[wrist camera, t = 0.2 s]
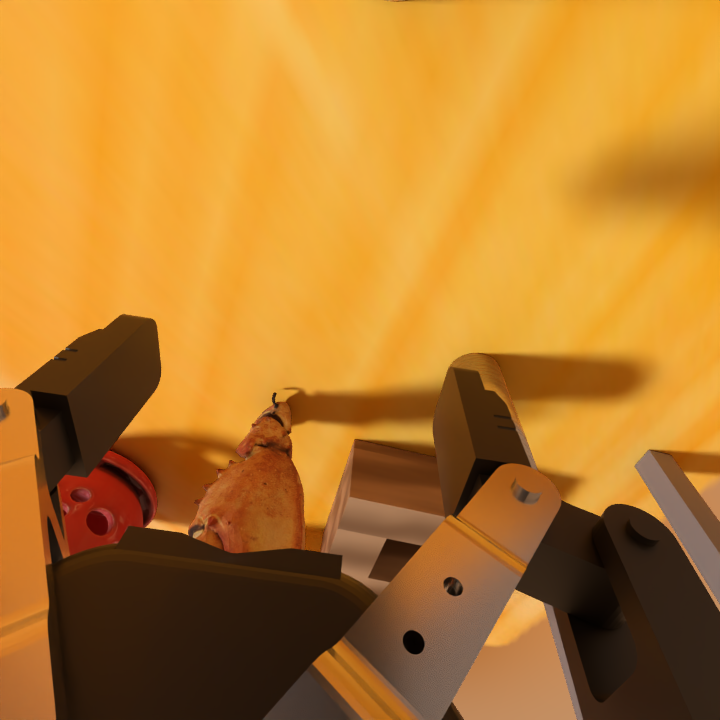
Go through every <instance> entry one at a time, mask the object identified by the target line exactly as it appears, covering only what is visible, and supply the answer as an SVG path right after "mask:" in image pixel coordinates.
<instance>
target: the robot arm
mask: <svg viewBox="0 0 720 720" xmlns="http://www.w3.org/2000/svg"><path fill="white" fill-rule="evenodd" d="M386 1H392V2H393V1H403V0H386ZM160 377H161V361H160V351H159V341H158V332H157V325H156V322H155V321H154V320H153V319H151V318H144V317H138V316H132V315H125V314H123V315H120V316H119V317H118V318H116V319H115V320H114V321H113V322H112V323H110V324H109V325H108V326H107V327H106V328H104V329H103V330H102V329H98V330H96V331H93V332H91V333H88V334H86V335H83V336H81V337H79V338H78V339H76V340H75V341H74V342H73V343H71V344H70V345H69V346H67V347H66V350H62V351H61V352H60V353H59V354H57V355H56V356H55V357H54V360H53V359H51V360H50V361H48V362H47V363H46V364H45V365H43V366H42V367H41V368H40V369H38V370H37V371H36V372H35V373H33V374H32V375H31V376H29V377H28V378H27V379H26V380H24V381H23V382H22V383H21V384H19V385H18V386H17V387H15V388H14V389H13V388H0V720H464V719H463V717H462V716H461V715H460V713H459V711H458V710H457V709H456V707H455V705H454V704H453V703H452V700H453V698H454V697H455V695H456V693H457V691H458V689H459V688H460V686H461V684H462V682H463V681H464V679H465V677H466V675H467V674H468V672H469V670H470V668H471V666H472V665H473V663H474V661H475V659H476V657H477V656H478V654H479V652H480V650H481V649H482V647H483V645H484V643H485V641H486V640H487V638H488V636H489V634H490V632H491V631H492V629H493V627H494V625H495V624H496V622H497V620H498V618H499V616H500V615H501V613H502V611H503V609H504V608H505V606H506V604H507V602H508V600H509V599H510V597H511V595H512V593H513V591H514V590H515V589H516V590H518V591H520V592H522V593H524V594H527V595H529V596H531V597H533V598H535V599H538V600H540V601H542V602H544V603H546V604H549V605H551V606H552V607H553V611H554V614H555V618H556V622H557V625H558V629H559V633H560V636H561V640H562V644H563V648H564V651H565V655H566V659H567V662H568V666H569V670H570V673H571V677H572V681H573V684H574V688H575V692H576V695H577V699H578V703H579V706H580V710H581V714H582V717H583V720H720V612H719V610H718V608H717V607H716V605H715V603H714V602H713V600H712V598H711V597H710V595H709V593H708V592H707V590H706V588H705V586H704V585H703V583H702V581H701V580H700V578H699V577H698V575H697V573H696V571H695V570H694V568H693V566H692V565H691V563H690V561H689V560H688V558H687V556H686V555H685V553H684V551H683V550H682V548H681V546H680V545H679V543H678V541H677V540H676V538H675V537H674V535H673V534H672V533H671V532H670V530H669V529H668V528H667V527H666V526H664V524H663V523H661V522H660V521H659V520H658V519H656V518H655V517H653V516H652V515H650V514H648V513H647V512H645V511H643V510H641V509H639V508H636V507H633V506H629V505H625V504H614V505H611V506H609V507H608V508H607V509H606V510H605V511H604V513H603V514H602V516H601V517H600V516H598V515H595V514H593V513H590V512H588V511H585V510H583V509H580V508H578V507H575V506H572V505H570V504H568V503H566V502H564V501H562V500H561V496H560V493H559V491H558V489H557V488H556V486H555V485H554V484H553V482H552V481H550V480H549V479H548V478H547V477H546V476H545V475H543V474H542V473H540V472H539V471H537V470H535V469H533V468H532V467H531V465H530V462H529V460H528V457H527V455H526V452H525V449H524V447H523V444H522V442H521V439H520V437H519V434H518V432H517V431H516V427H515V424H514V422H513V420H511V418H512V417H511V414H510V412H509V409H508V407H507V404H506V403H505V402H504V401H503V400H502V399H501V398H500V397H499V396H498V395H497V393H496V392H495V391H490V390H485V388H484V385H483V382H482V380H481V377H480V374H479V372H478V371H477V370H471V369H465V368H458V367H452V366H451V367H450V368H449V369H448V371H447V374H446V377H445V380H444V384H443V387H442V390H441V393H440V397H439V400H438V403H437V406H436V410H435V414H434V419H433V437H434V444H435V451H436V458H437V465H438V472H439V479H440V486H441V493H442V500H443V507H444V513H445V520H444V521H443V522H442V523H441V524H440V525H439V527H438V528H437V529H436V530H435V531H434V532H433V534H432V535H431V536H430V537H429V538H428V539H427V540H426V542H425V543H424V544H423V545H422V546H421V547H420V549H419V550H418V551H417V552H416V553H415V554H414V556H413V557H412V558H411V559H410V560H409V561H408V562H407V564H406V565H405V566H404V567H403V568H402V569H401V571H400V572H399V573H398V574H397V575H396V576H395V577H394V579H393V580H392V581H391V582H390V583H389V584H388V586H387V587H386V588H385V589H384V590H383V591H382V592H381V594H380V595H379V596H378V595H377V594H376V593H374V592H373V591H372V590H371V589H370V588H368V587H367V586H366V585H364V584H363V583H361V582H360V581H358V580H356V579H354V578H353V577H351V576H349V575H346V574H344V573H342V572H341V568H342V557H343V555H337V554H330V553H322V552H315V551H308V550H301V549H294V548H287V549H276V550H266V551H255V552H245V553H230V552H227V551H225V550H222V549H220V548H217V547H215V546H212V545H210V544H208V543H205V542H203V541H200V540H198V539H195V538H193V537H191V536H188V535H186V534H183V533H179V532H171V531H164V530H157V529H150V528H143V527H135V526H128V528H127V529H126V531H125V533H124V534H123V536H122V538H121V539H120V541H119V543H113V544H107V545H102V546H97V547H94V548H90V549H87V550H84V551H81V552H78V553H76V554H73V555H70V552H69V546H68V539H67V532H66V526H65V519H64V512H63V506H62V499H61V493H60V489H59V486H58V483H59V482H60V480H61V479H62V478H63V477H64V476H65V475H71V476H78V477H85V478H87V477H88V476H89V475H90V474H91V472H92V471H93V470H94V468H95V467H96V466H97V465H98V463H99V462H100V461H101V459H102V458H103V457H104V456H105V454H106V453H107V452H108V450H109V449H110V448H111V447H112V445H113V444H114V443H115V441H116V440H117V439H118V438H119V436H120V435H121V434H122V432H123V431H124V430H125V429H126V427H127V426H128V425H129V424H130V422H131V421H132V420H133V418H134V417H135V416H136V415H137V413H138V412H139V411H140V409H141V408H142V407H143V406H144V404H145V403H146V402H147V400H148V399H149V398H150V397H151V395H152V394H153V393H154V391H155V390H156V388H157V386H158V384H159V381H160Z"/></svg>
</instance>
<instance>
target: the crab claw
mask: <svg viewBox="0 0 720 720" xmlns="http://www.w3.org/2000/svg"><path fill="white" fill-rule="evenodd" d="M276 394H277V393H273V395H272V396H273V397H272V402H273V405H272V406H271V407H269V408H268V409H266V410H265V411H264V412H263V413H262V414H261V415H260V416H259V417H258V418H257V420H256V422H255V423H254V424H252V428H251V429H250V432H249V433H248V435H247V436H246V437H245V439H244V440H243V441H242V442H241V444H240V445H239V447H238V448H237V449H236V453H238V454H239V456H240V457H244V458H245V461H242V462H239V463H236V462H234V461H232V460H230V461H229V467H228V468H227V469H226V470H222V469H217V471H216V472H217V475H218V479H217V480H216V481H215V482H214V483H211V484H206V485H204V486H203V488H204V490H206V491H207V492H206V494H205V496H204V497H203V498H201V499H198V500H195V502H194V503H195V504H197V505H198V506H199V509H198V512H197V515H196V517H195V519H194V520H193V522H192V523H191V525H190V526H189V530H188V534H189V536H191V537H193V538H195V539H198V540H200V541H203V542H205V543H208V544H210V545H212V546H215V547H217V548H220V549H222V550H225V551H227V552H230V553H245V552H255V551H266V550H276V549H287V548H294V549H301V550H305V521H304V493H303V487H302V484H301V481H300V477H299V474H298V472H297V470H296V468H295V466H294V464H293V462H292V460H291V458H292V442H291V439H290V437H289V436H288V435H289V433H291V411H290V407H289V405H288V404H287V402H277V403H275V396H276Z"/></svg>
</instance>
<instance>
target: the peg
mask: <svg viewBox="0 0 720 720" xmlns="http://www.w3.org/2000/svg"><path fill="white" fill-rule="evenodd" d="M451 366H452V367H458V368H465V369H471V370H477V371H478V372H479V374H480V377H481V380H482V382H483V385H484V388H485V390H490V391H495V392H496V393H497V395H498V396H499V397H500V398H501V399H502V400H503V401H504V402H505V403H506V404H507V407H508V409H509V412H510V414H511V417H512V418H511V420H513V422H514V424H515V427H516V431H517V432H518V434H519V437H520V439H521V442H522V444H523V447H524V449H525V452H526V455H527V457H528V460H529V462H530V465H531V467H532V468H533V469H535V470H537V467H536V464H535V461H534V459H533V456H532V453H531V451H530V448H529V445H528V443H527V440H526V437H525V434H524V432H523V429H522V426H521V424H520V421H519V418H518V415H517V413H516V410H515V407H514V405H513V402H512V399H511V397H510V394H509V391H508V388H507V386H506V383H505V380H504V378H503V375H502V372H501V370H500V367H499V365H498V363H497V362H496V361H495V360H494V359H493V358H492V357H490V356H488V355H485V354H481V353H471V354H467V355H464V356H461V357H459V358H458V359H456V360H455V361H454V362H453V363H452V364H451V365H450V366H449V368H450V367H451ZM449 368H448V369H449ZM447 371H448V370H447ZM537 471H538V470H537Z"/></svg>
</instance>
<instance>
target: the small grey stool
mask: <svg viewBox="0 0 720 720" xmlns="http://www.w3.org/2000/svg"><path fill="white" fill-rule="evenodd" d="M635 468H636V469H637V471H638V472H639V474H640V476H641V477H642V479H643V481H644V482H645V484H646V485H647V487H648V489H649V490H650V492H651V494H652V495H653V497H654V498H655V500H656V502H657V503H658V505H659V506H660V508H661V510H662V511H663V513H664V515H665V516H666V518H667V519H668V521H669V523H670V524H671V526H672V528H673V529H674V531H675V532H676V534H677V536H678V537H679V539H680V541H681V542H682V544H683V545H684V547H685V549H686V550H687V552H688V553H689V555H690V557H691V558H692V560H693V562H694V563H695V565H696V566H697V568H698V570H699V571H700V573H701V575H702V576H703V578H704V579H705V581H706V583H707V584H708V586H709V588H710V589H711V591H712V592H713V594H714V596H715V597H716V599H717V600H718V602H719V604H720V522H719V520H718V519H717V518H716V516H715V515H714V514H713V512H712V511H711V509H710V508H709V507H708V505H707V504H706V503H705V501H704V500H703V498H702V497H701V496H700V494H699V493H698V492H697V490H696V489H695V487H694V486H693V485H692V483H691V482H690V481H689V479H688V478H687V476H686V475H685V474H684V472H683V471H682V470H681V468H680V467H679V465H678V464H677V463H676V461H675V460H674V459H673V457H672V456H671V455H669V454H664V453H660V452H656V451H652V450H648V451H647V453H646V454H645V455H644V456H643V457H642V458H641V459H640V460H639V462H638V463H637V464H636V465H635ZM543 603H544V602H543ZM544 606H545V610H546V613H547V617H548V620H549V623H550V627H551V631H552V634H553V638H554V641H555V645H556V648H557V651H558V655H559V659H560V662H561V665H562V669H563V672H564V676H565V679H566V683H567V686H568V690H569V693H570V697H571V700H572V704H573V707H574V711H575V714H576V717H577V720H583V717H582V714H581V710H580V706H579V703H578V699H577V695H576V692H575V688H574V684H573V681H572V677H571V673H570V670H569V666H568V662H567V659H566V655H565V651H564V648H563V644H562V640H561V636H560V633H559V629H558V625H557V622H556V618H555V614H554V611H553V607H552V606H551V605H549V604H546V603H544Z"/></svg>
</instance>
